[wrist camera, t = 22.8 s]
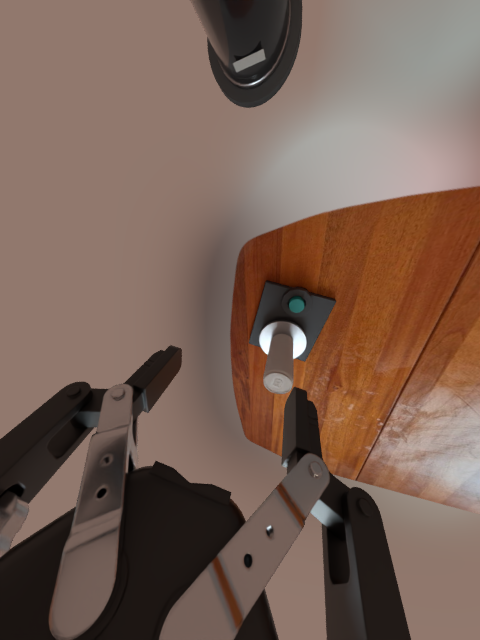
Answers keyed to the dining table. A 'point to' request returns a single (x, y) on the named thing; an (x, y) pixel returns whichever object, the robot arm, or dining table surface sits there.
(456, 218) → the dining table surface
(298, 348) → the scale pan
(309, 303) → the scale
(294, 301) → the button
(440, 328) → the dining table surface
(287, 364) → the beverage can
